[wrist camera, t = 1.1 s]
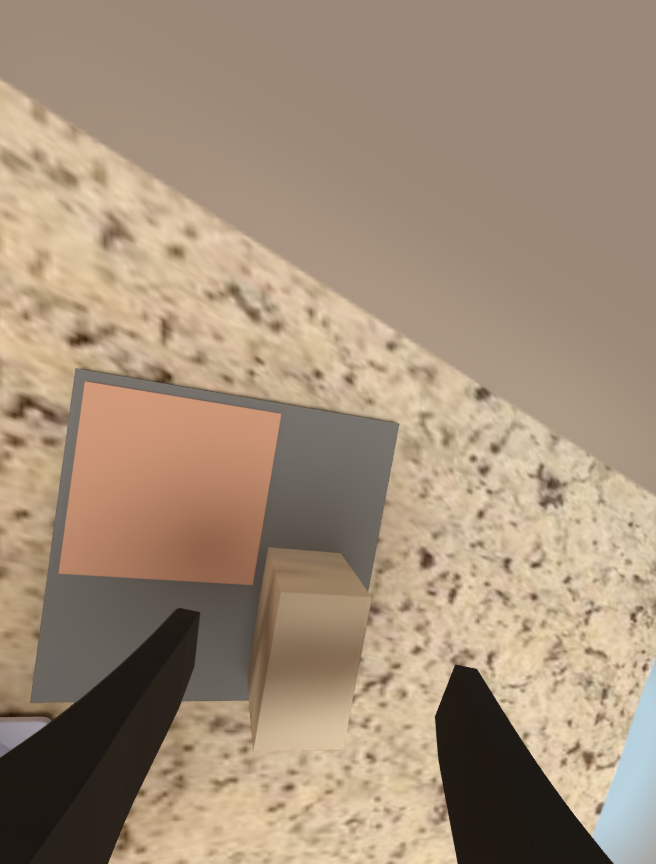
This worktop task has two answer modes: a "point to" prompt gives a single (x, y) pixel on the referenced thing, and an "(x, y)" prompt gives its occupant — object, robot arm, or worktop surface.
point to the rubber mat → (193, 522)
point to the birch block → (305, 651)
